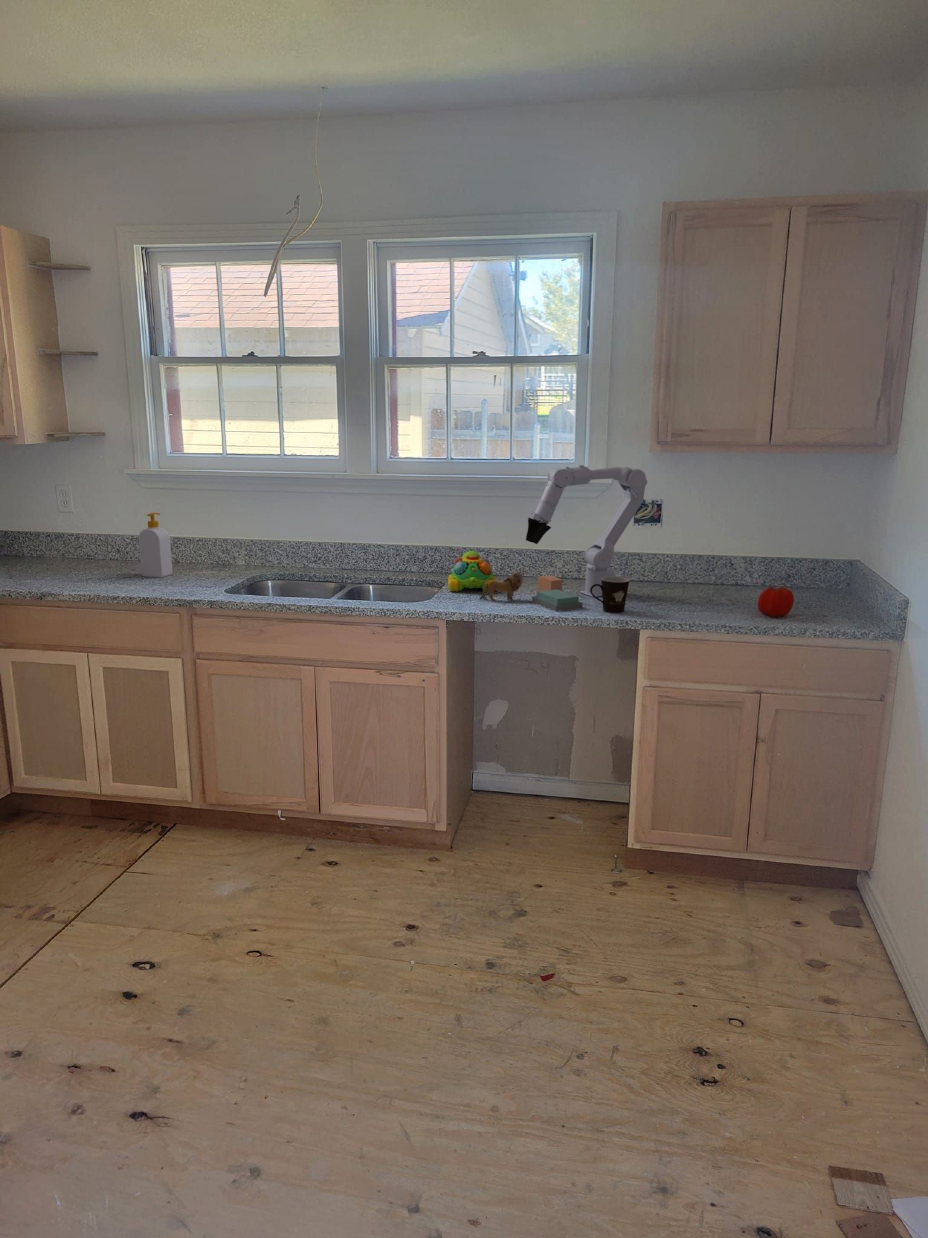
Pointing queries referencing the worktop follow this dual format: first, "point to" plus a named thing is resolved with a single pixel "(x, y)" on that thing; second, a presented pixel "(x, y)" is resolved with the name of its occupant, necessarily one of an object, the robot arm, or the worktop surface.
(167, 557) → the soap bottle
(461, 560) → the turtle toy
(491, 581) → the lion figurine
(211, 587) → the worktop surface
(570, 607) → the green-topped grey block
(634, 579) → the worktop surface
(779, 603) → the tomato
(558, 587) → the terracotta brick
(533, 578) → the worktop surface
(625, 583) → the coffee mug
